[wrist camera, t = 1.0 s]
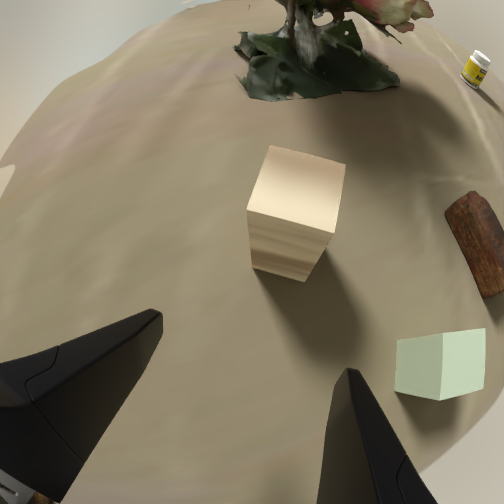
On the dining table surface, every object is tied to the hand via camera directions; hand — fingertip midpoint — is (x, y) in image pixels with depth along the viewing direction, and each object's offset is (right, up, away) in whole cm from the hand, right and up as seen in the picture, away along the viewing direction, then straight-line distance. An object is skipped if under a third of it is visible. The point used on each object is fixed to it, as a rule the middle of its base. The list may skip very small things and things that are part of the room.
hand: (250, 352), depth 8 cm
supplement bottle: (+46, +39, +27) cm, 66 cm away
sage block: (+15, -7, +12) cm, 20 cm away
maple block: (+3, +3, +16) cm, 16 cm away
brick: (+24, +3, +15) cm, 29 cm away
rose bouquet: (+9, +35, +27) cm, 46 cm away
